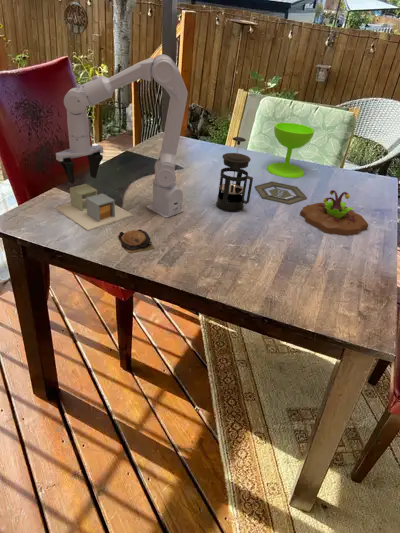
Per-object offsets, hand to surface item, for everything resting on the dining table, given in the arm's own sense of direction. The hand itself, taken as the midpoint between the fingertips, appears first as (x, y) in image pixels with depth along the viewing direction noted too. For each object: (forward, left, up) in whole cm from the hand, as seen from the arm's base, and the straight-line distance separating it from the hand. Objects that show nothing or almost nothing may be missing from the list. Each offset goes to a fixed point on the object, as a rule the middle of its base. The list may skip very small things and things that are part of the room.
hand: (82, 179), depth 121 cm
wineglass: (-19, -86, -9) cm, 89 cm away
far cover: (0, 0, -8) cm, 8 cm away
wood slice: (-27, +1, -10) cm, 28 cm away
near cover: (-9, 0, -8) cm, 12 cm away
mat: (-5, 0, -9) cm, 10 cm away
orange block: (-9, 0, -8) cm, 12 cm away
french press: (-28, -39, -9) cm, 49 cm away
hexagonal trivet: (-32, -63, -9) cm, 72 cm away
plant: (-56, -59, -9) cm, 82 cm away
